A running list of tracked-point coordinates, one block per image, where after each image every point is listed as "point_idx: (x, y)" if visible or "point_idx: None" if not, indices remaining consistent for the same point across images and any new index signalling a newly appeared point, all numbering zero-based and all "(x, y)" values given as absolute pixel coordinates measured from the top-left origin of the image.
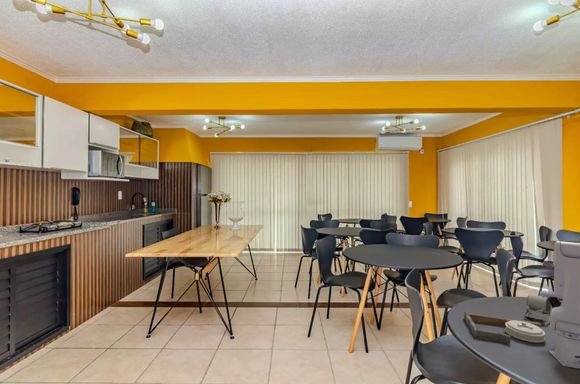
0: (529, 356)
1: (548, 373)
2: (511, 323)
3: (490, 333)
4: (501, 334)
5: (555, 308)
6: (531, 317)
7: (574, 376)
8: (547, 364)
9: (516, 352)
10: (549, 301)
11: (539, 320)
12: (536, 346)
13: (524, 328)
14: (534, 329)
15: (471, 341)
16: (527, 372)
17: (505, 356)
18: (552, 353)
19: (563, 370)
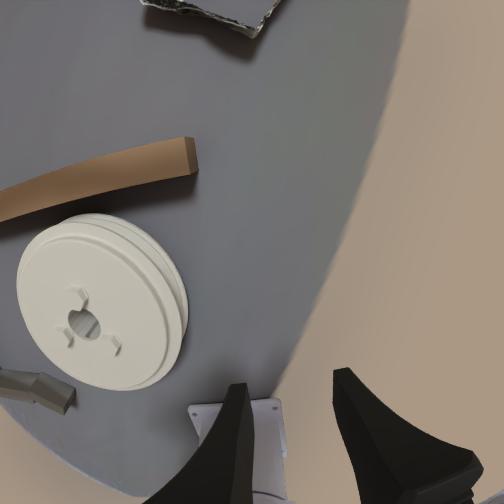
0: (132, 441)
1: None
2: (33, 313)
3: (18, 398)
4: (40, 402)
5: None
6: (178, 2)
7: None
8: (174, 461)
9: (100, 431)
10: (168, 489)
11: (222, 18)
12: None
13: (86, 354)
14: (127, 349)
15: (8, 401)
16: (135, 487)
17: (85, 451)
18: (195, 423)
19: None
